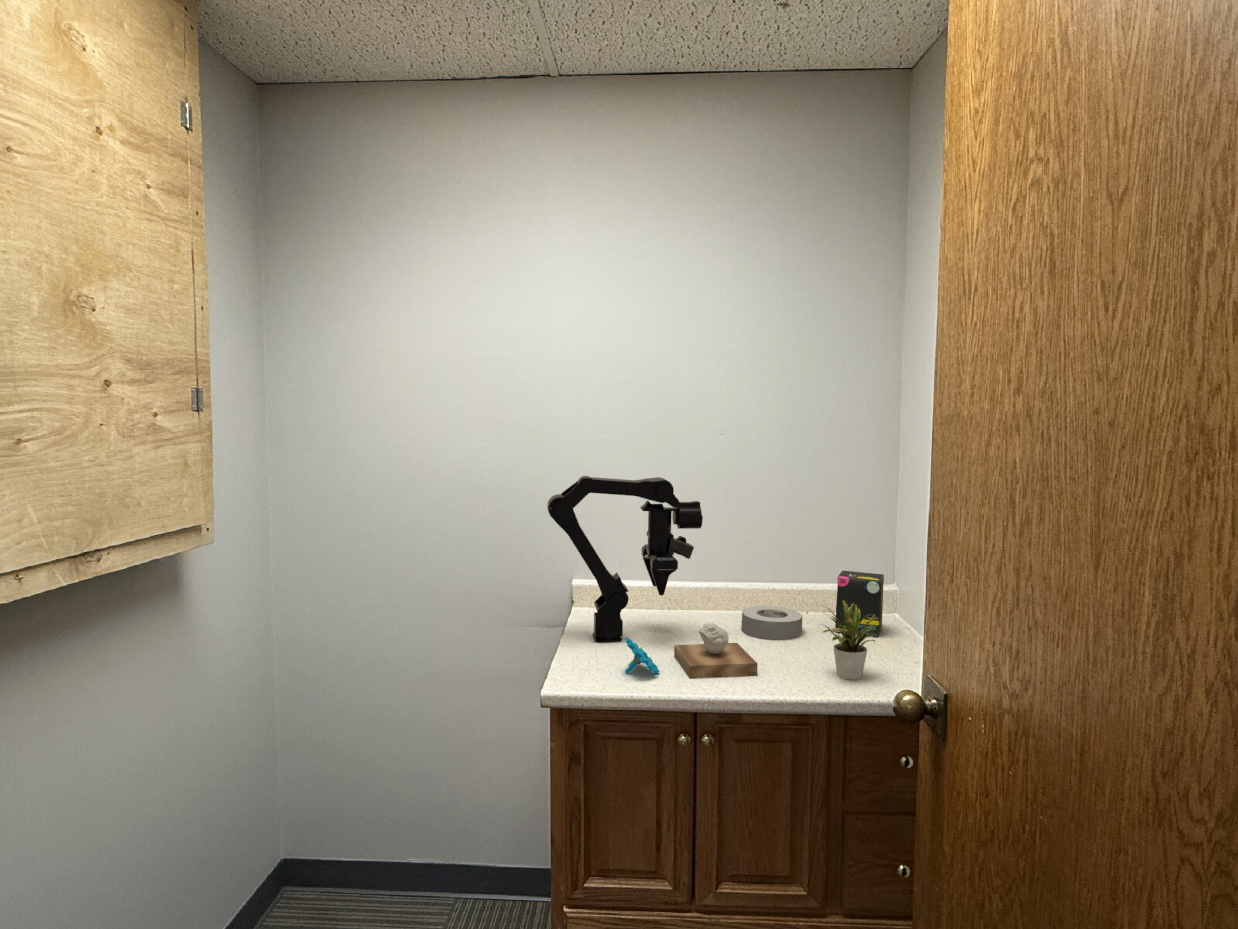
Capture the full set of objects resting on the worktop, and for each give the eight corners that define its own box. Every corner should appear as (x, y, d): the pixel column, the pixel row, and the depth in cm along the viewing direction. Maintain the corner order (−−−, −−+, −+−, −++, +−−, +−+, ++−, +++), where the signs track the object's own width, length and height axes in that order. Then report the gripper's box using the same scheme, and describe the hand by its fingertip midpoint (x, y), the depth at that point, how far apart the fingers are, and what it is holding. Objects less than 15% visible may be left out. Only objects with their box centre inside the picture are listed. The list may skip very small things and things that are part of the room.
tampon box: (834, 632, 206) (836, 576, 205) (839, 623, 214) (841, 569, 213) (879, 638, 202) (881, 581, 201) (882, 628, 210) (884, 573, 209)
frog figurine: (693, 651, 181) (693, 621, 180) (720, 648, 183) (721, 618, 183) (706, 659, 175) (707, 628, 174) (734, 656, 178) (734, 625, 177)
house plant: (804, 663, 181) (806, 592, 180) (864, 663, 182) (866, 592, 181) (823, 686, 167) (826, 609, 166) (888, 685, 168) (891, 608, 167)
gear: (662, 674, 169) (629, 640, 169) (642, 694, 168) (609, 659, 169) (661, 664, 180) (630, 632, 180) (642, 683, 179) (611, 650, 180)
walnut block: (689, 682, 171) (689, 666, 171) (674, 659, 186) (674, 645, 185) (757, 679, 173) (757, 663, 173) (736, 657, 188) (736, 642, 188)
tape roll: (810, 630, 209) (810, 611, 208) (789, 645, 196) (790, 624, 196) (755, 621, 217) (755, 602, 217) (731, 634, 204) (732, 615, 204)
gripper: (699, 534, 190) (698, 599, 191) (684, 522, 209) (682, 581, 210) (653, 535, 189) (652, 600, 190) (641, 522, 207) (640, 582, 208)
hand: (658, 590), depth 200 cm, fingers open, 9 cm apart
